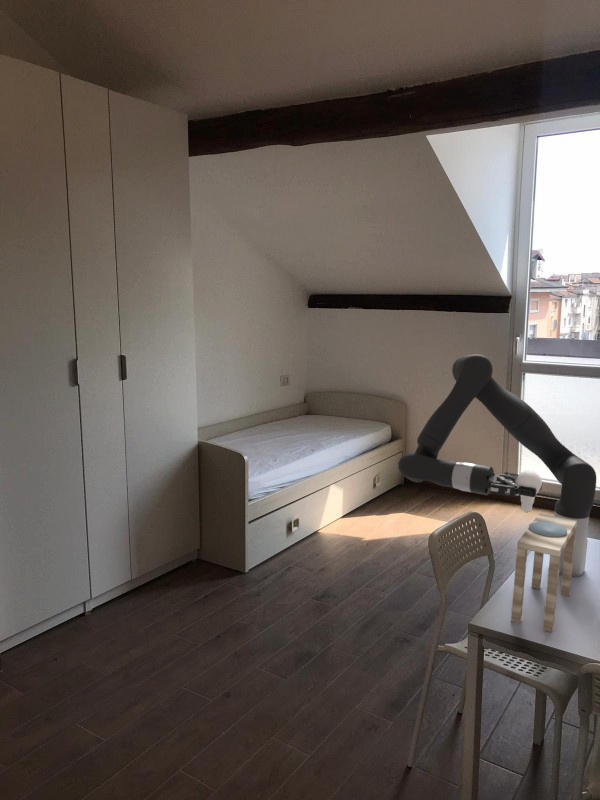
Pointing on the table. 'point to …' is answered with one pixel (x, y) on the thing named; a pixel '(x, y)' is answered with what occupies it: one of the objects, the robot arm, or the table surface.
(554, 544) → the stool
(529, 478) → the lightbulb
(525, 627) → the table surface
